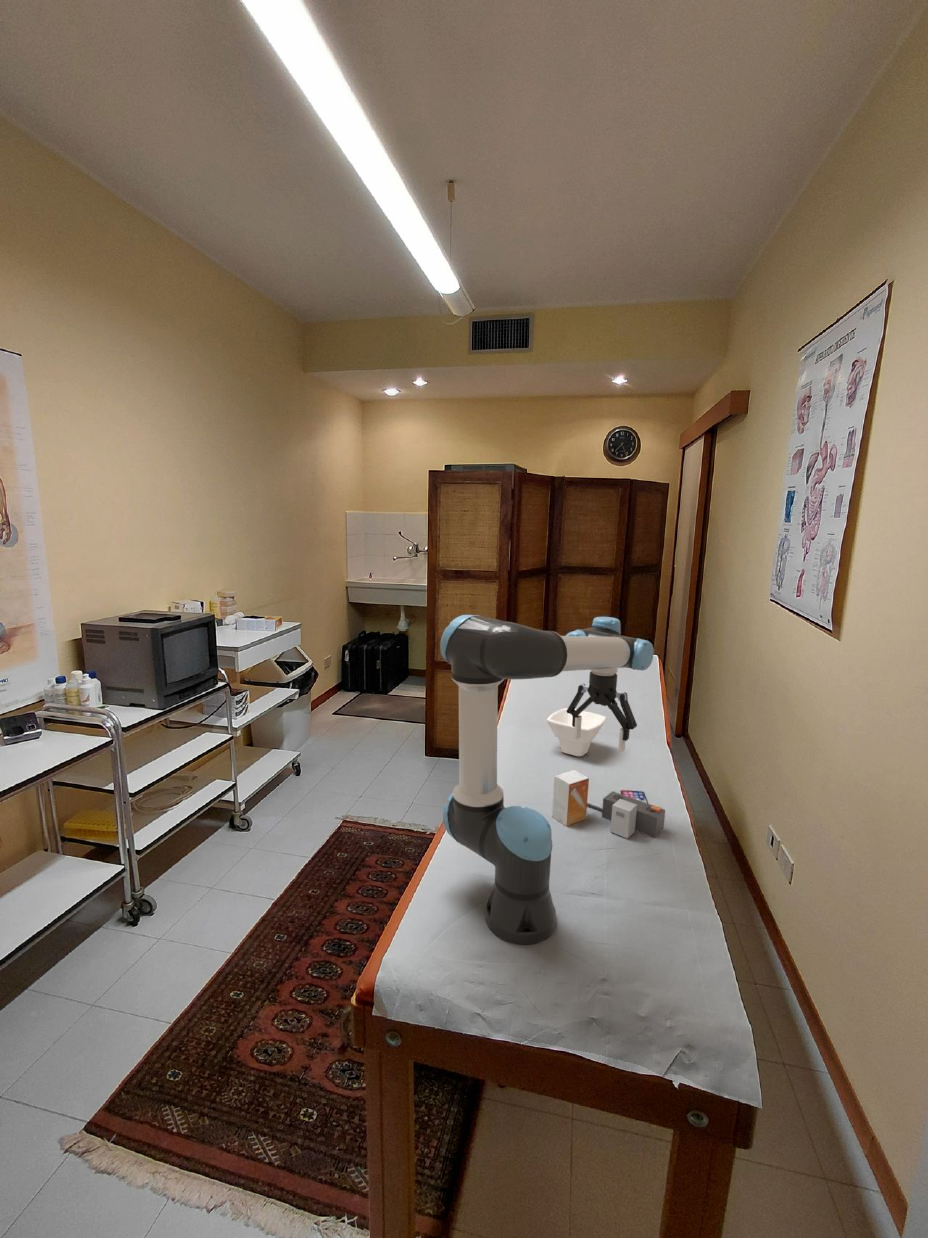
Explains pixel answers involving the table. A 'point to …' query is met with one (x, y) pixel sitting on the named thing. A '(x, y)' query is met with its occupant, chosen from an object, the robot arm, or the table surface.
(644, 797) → the smartphone
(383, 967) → the table surface
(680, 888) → the table surface
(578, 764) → the table surface
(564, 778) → the small box
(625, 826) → the block
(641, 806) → the power strip
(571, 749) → the bowl
